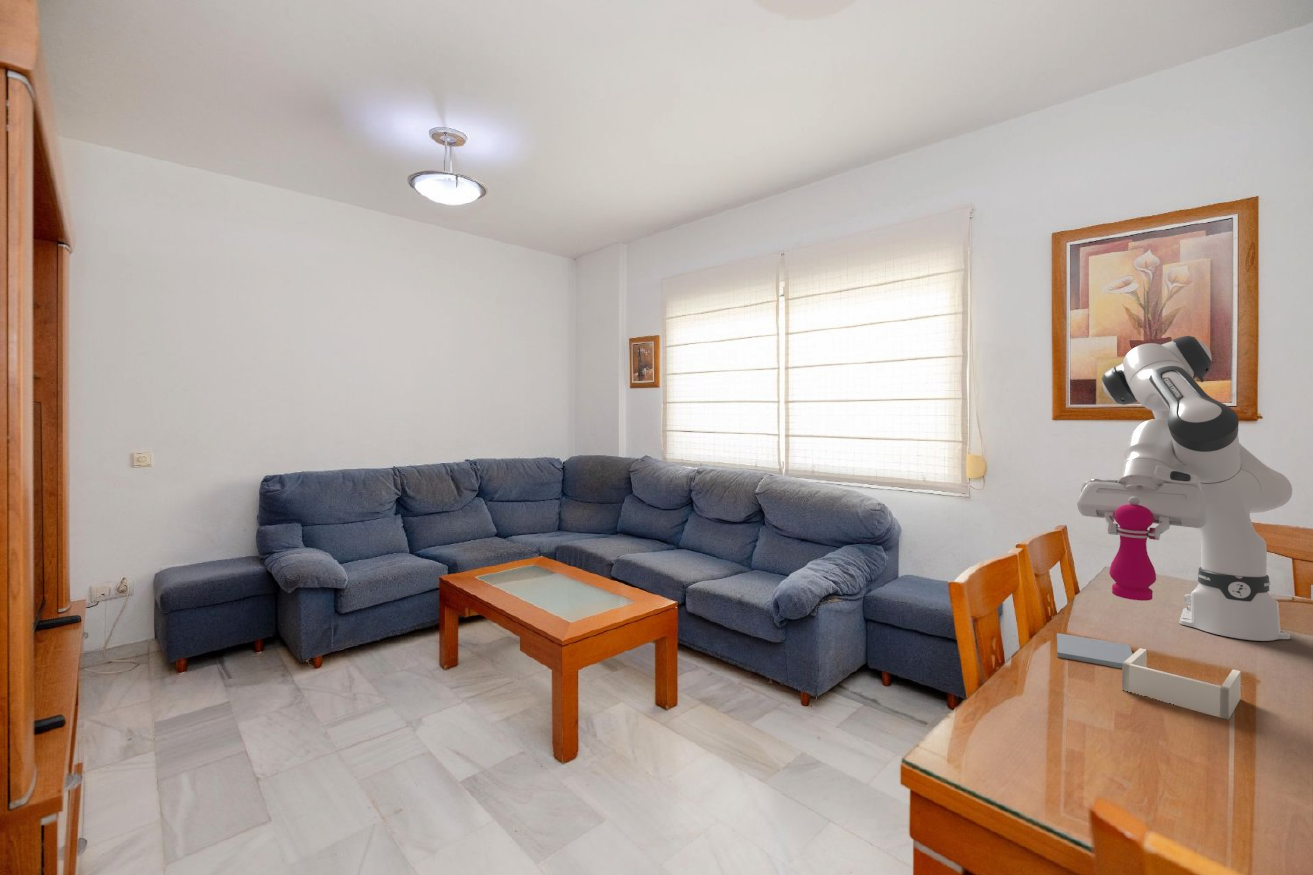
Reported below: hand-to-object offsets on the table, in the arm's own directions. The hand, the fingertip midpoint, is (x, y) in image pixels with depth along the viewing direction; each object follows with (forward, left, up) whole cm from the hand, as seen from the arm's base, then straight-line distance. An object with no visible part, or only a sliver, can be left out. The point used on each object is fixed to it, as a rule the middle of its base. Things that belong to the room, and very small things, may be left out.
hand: (1132, 535), depth 115 cm
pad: (-7, -6, -27) cm, 28 cm away
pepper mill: (-1, 0, -12) cm, 13 cm away
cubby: (+8, +6, -27) cm, 29 cm away
